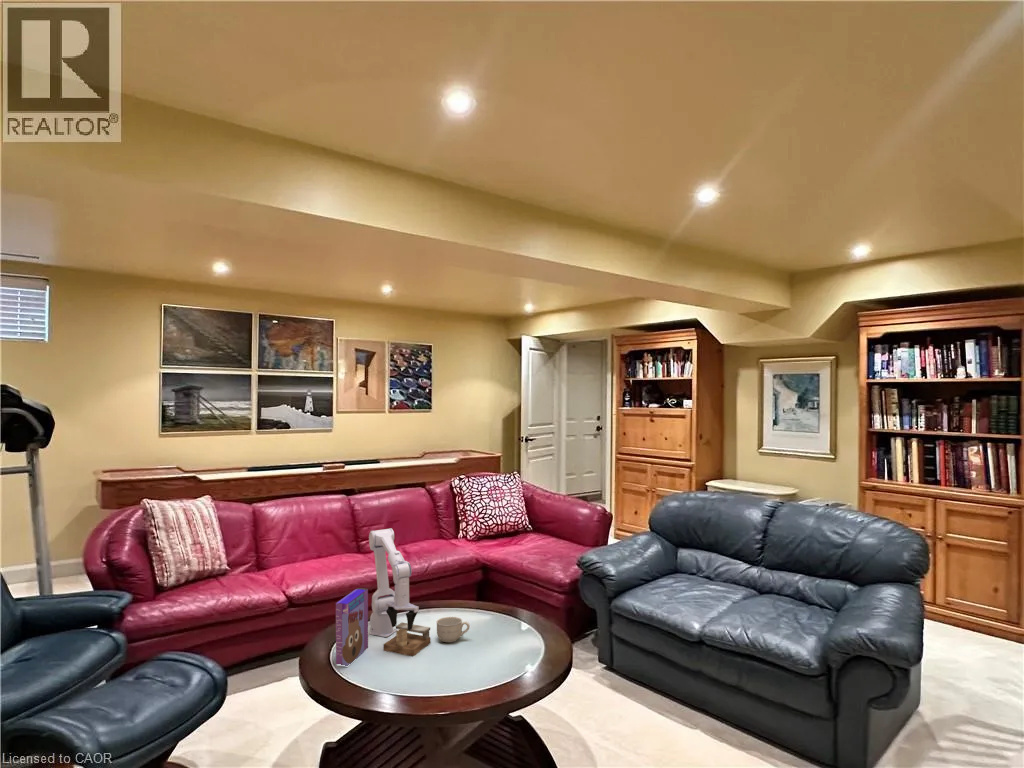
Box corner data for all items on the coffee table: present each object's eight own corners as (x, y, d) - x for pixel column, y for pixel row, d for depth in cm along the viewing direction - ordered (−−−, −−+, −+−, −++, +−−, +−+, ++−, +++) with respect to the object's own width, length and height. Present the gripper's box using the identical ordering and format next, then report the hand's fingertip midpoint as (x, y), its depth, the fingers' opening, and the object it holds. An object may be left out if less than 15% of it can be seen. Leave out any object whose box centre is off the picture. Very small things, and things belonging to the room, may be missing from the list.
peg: (396, 651, 230) (396, 631, 230) (400, 648, 233) (400, 628, 233) (402, 652, 229) (402, 632, 229) (407, 649, 232) (406, 629, 232)
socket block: (383, 650, 231) (383, 634, 231) (402, 637, 243) (401, 622, 243) (412, 656, 226) (412, 639, 226) (430, 643, 238) (430, 627, 238)
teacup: (432, 643, 238) (432, 623, 238) (443, 632, 248) (443, 614, 248) (463, 647, 233) (462, 627, 234) (473, 636, 244) (473, 617, 244)
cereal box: (347, 667, 217) (347, 603, 218) (336, 666, 218) (335, 602, 219) (368, 647, 234) (367, 588, 235) (357, 646, 235) (357, 587, 236)
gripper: (381, 594, 231) (381, 628, 231) (411, 599, 225) (411, 634, 225) (391, 588, 237) (391, 621, 237) (421, 593, 232) (421, 627, 231)
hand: (402, 627), depth 232 cm, fingers open, 7 cm apart
